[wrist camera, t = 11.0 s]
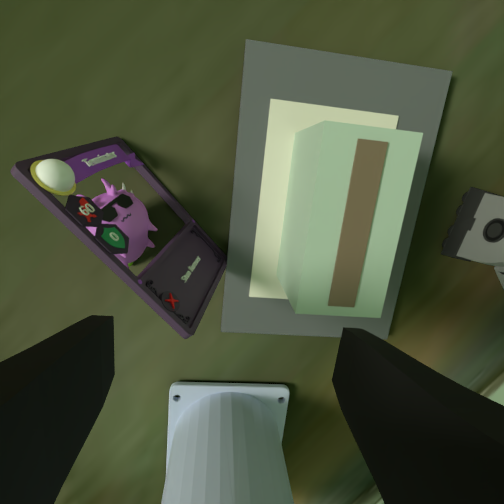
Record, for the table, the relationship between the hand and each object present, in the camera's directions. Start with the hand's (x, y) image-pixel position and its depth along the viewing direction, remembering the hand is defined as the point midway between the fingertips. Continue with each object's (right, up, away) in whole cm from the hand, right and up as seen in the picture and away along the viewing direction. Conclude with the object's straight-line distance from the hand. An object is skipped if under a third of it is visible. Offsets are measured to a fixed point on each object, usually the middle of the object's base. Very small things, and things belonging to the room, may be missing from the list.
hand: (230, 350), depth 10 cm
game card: (-5, +5, +8) cm, 11 cm away
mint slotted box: (+5, +5, +8) cm, 11 cm away
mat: (+5, +6, +9) cm, 11 cm away
